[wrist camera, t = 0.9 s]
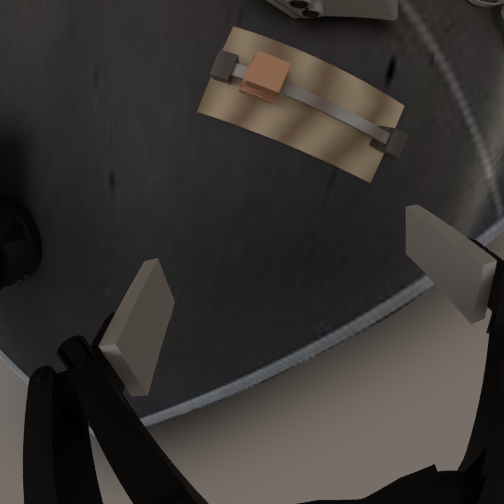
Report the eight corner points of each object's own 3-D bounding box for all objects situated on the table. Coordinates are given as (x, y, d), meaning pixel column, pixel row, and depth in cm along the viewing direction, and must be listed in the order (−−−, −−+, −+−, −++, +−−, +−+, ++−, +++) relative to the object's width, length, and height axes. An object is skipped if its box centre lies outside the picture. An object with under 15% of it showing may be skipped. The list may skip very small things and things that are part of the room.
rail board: (198, 111, 36) (189, 111, 30) (233, 28, 31) (231, 13, 25) (367, 181, 40) (386, 193, 34) (400, 105, 35) (424, 106, 29)
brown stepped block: (239, 92, 32) (237, 84, 24) (253, 60, 30) (255, 43, 22) (272, 104, 33) (281, 100, 24) (285, 73, 31) (299, 60, 23)
